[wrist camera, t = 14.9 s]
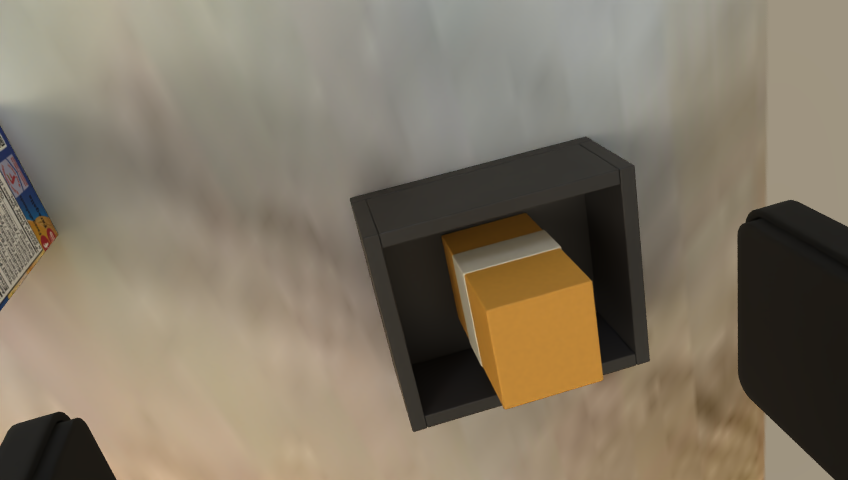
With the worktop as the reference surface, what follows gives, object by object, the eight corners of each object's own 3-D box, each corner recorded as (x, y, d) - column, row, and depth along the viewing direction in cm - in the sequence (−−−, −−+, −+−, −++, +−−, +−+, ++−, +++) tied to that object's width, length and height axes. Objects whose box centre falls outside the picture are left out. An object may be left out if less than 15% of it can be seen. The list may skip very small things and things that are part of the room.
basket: (395, 372, 42) (413, 432, 37) (349, 198, 38) (362, 238, 32) (605, 312, 44) (650, 361, 38) (586, 136, 39) (635, 165, 34)
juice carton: (439, 234, 39) (484, 310, 30) (526, 210, 39) (593, 279, 31) (457, 319, 41) (503, 411, 33) (539, 296, 41) (605, 381, 33)
